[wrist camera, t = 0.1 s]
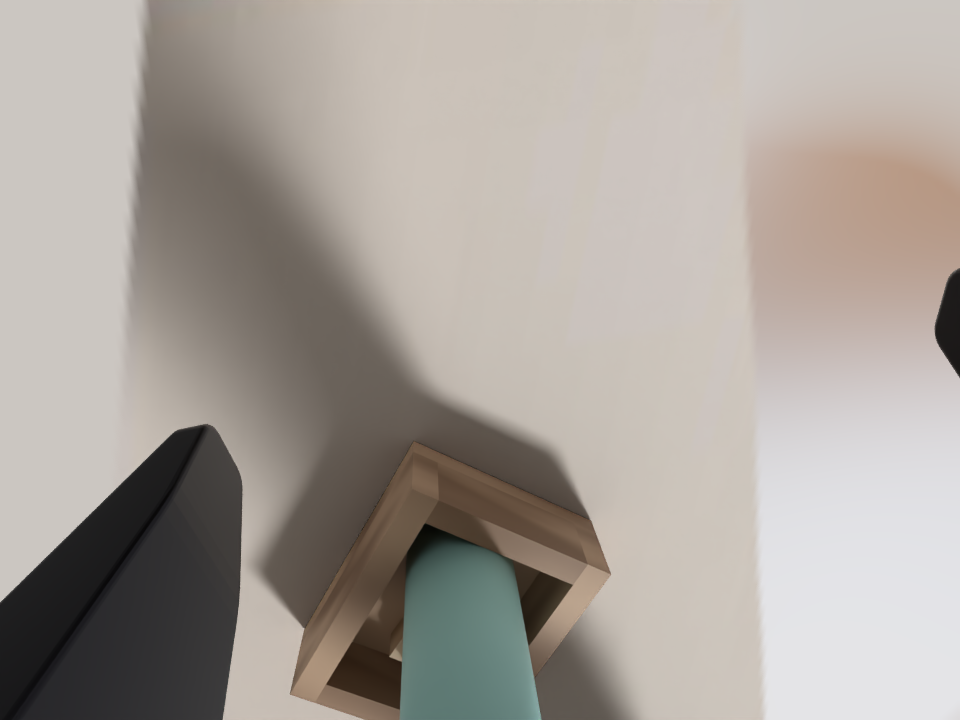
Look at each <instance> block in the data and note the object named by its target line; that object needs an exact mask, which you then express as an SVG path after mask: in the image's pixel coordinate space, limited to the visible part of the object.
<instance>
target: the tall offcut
mask: <svg viewBox="0 0 960 720" xmlns="http://www.w3.org/2000/svg"><path fill="white" fill-rule="evenodd" d="M400 720H541V714H540V709H539V703H538V698H537V692H536V686H535V681H534V675H533V670H532V664H531V659H530V653H529V648H528V642H527V637H526V631H525V625H524V620H523V614H522V609H521V603H520V598H519V592H518V587H517V581H516V575H515V570H514V564H513V560H512V559H510V558H508V557H505V556H503V555H500V554H498V553H496V552H493V551H491V550H488V549H486V548H484V547H481V546H479V545H476V544H474V543H472V542H469V541H467V540H465V539H462V538H460V537H457V536H455V535H453V534H450V533H448V532H445V531H443V530H441V529H438V528H436V527H433V526H431V525H429V524H426V523H425V524H424V525H423V527H422V529H421V530H420V532H419V533H418V535H417V537H416V538H415V540H414V542H413V543H412V545H411V547H410V548H409V550H408V551H407V557H406V581H405V605H404V628H403V652H402V676H401V700H400Z"/></svg>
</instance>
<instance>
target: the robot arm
mask: <svg viewBox="0 0 960 720" xmlns="http://www.w3.org/2000/svg"><path fill="white" fill-rule="evenodd" d="M935 336H936V339H937V343H938V345H939V347H940V348H941V350H942V351H943V353H944V355H945V356H946V358H947V359H948V361H949V362H950V364H951V365H952V367H953V368H954V370H955V371H956V373H957V374H958V376H959V377H960V268H959V269H957V270H955V271H954V272H953V273H952V274H951V275H950V276H949V278H948V281H947V283H946V287H945V290H944V294H943V298H942V301H941V305H940V308H939V312H938V315H937V319H936V323H935ZM241 528H242V480H241V476H240V473H239V470H238V468H237V466H236V464H235V463H234V461H233V459H232V457H231V455H230V453H229V452H228V450H227V448H226V446H225V444H224V442H223V440H222V439H221V437H220V435H219V433H218V432H217V430H216V429H215V428H214V427H213V426H211V425H208V424H203V425H198V426H194V427H189V428H184V429H180V430H177V431H175V432H174V433H173V434H172V435H170V436H169V437H168V438H167V439H166V440H165V441H164V442H163V443H162V444H161V445H160V446H159V447H158V448H157V449H156V450H155V451H154V452H153V453H152V454H151V455H150V456H149V457H148V458H147V459H146V460H145V461H144V462H143V463H142V464H141V465H140V466H139V467H138V468H137V469H136V470H135V471H134V472H133V473H132V474H131V475H130V476H129V477H128V478H127V479H126V480H125V481H124V482H123V483H122V484H121V485H120V486H119V487H117V488H116V489H115V490H114V491H113V492H112V493H111V494H110V495H109V496H108V497H107V498H106V499H105V500H104V501H103V502H102V503H101V504H100V505H99V506H98V507H97V508H96V509H95V510H94V511H93V512H92V513H91V514H90V515H89V516H88V517H87V518H86V519H85V520H84V521H83V522H82V523H81V524H80V525H79V526H78V527H77V528H76V529H75V530H74V531H73V532H72V533H71V534H70V535H69V536H68V537H67V538H66V539H64V540H63V541H62V543H60V544H59V545H58V546H57V547H56V548H55V549H54V550H53V551H52V552H51V553H50V554H49V555H48V556H47V557H46V558H45V559H44V560H43V561H42V562H41V563H40V564H39V565H38V566H37V567H36V568H35V569H34V570H33V571H32V572H31V573H30V574H29V575H28V576H27V577H26V578H25V579H24V580H23V581H22V582H21V583H20V584H19V585H18V586H17V587H15V588H14V590H13V591H11V592H10V593H9V594H8V595H7V596H6V598H4V599H3V600H2V601H1V602H0V720H222V719H223V713H224V706H225V699H226V692H227V685H228V678H229V671H230V664H231V658H232V651H233V644H234V637H235V630H236V623H237V615H238V607H239V594H240V568H241Z"/></svg>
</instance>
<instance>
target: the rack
mask: <svg viewBox="0 0 960 720" xmlns="http://www.w3.org/2000/svg"><path fill="white" fill-rule="evenodd" d="M425 523H426V524H429V525H431V526H433V527H436V528H438V529H441V530H443V531H445V532H448V533H450V534H453V535H455V536H457V537H460V538H462V539H465V540H467V541H469V542H472V543H474V544H476V545H479V546H481V547H484V548H486V549H488V550H491V551H493V552H496V553H498V554H500V555H503V556H505V557H508V558H510V559H512V560H513V564H514V570H515V575H516V581H517V587H518V592H519V598H520V603H521V609H522V614H523V620H524V625H525V631H526V637H527V642H528V648H529V653H530V659H531V664H532V670H533V675H534V678H535V677H536V675H537V674H538V673H539V671H540V670H541V669H542V667H543V666H544V665H545V663H546V662H547V661H548V659H549V658H550V656H551V655H552V654H553V652H554V651H555V650H556V648H557V647H558V646H559V644H560V643H561V642H562V640H563V639H564V638H565V636H566V635H567V634H568V632H569V631H570V629H571V628H572V627H573V625H574V624H575V623H576V621H577V620H578V619H579V617H580V616H581V615H582V613H583V612H584V611H585V609H586V608H587V606H588V605H589V604H590V602H591V601H592V600H593V598H594V597H595V596H596V594H597V593H598V592H599V590H600V589H601V588H602V586H603V585H604V583H605V582H606V581H607V579H608V578H609V577H610V575H611V573H610V570H609V567H608V565H607V562H606V559H605V557H604V554H603V551H602V549H601V546H600V543H599V541H598V538H597V535H596V533H595V530H594V527H593V525H592V522H591V520H588V519H586V518H584V517H582V516H579V515H577V514H575V513H573V512H571V511H568V510H566V509H564V508H562V507H559V506H557V505H555V504H553V503H550V502H548V501H546V500H544V499H542V498H539V497H537V496H535V495H533V494H530V493H528V492H526V491H524V490H521V489H519V488H517V487H515V486H513V485H510V484H508V483H506V482H504V481H501V480H499V479H497V478H495V477H492V476H490V475H488V474H486V473H484V472H481V471H479V470H477V469H475V468H472V467H470V466H468V465H466V464H464V463H461V462H459V461H457V460H455V459H452V458H450V457H448V456H446V455H443V454H441V453H439V452H437V451H435V450H432V449H430V448H428V447H426V446H423V445H421V444H419V443H417V442H413V443H412V445H411V447H410V449H409V450H408V452H407V454H406V455H405V457H404V459H403V461H402V462H401V464H400V466H399V468H398V469H397V471H396V473H395V474H394V476H393V478H392V480H391V481H390V483H389V485H388V486H387V488H386V490H385V492H384V493H383V495H382V497H381V499H380V500H379V502H378V504H377V505H376V507H375V509H374V511H373V512H372V514H371V516H370V517H369V519H368V521H367V523H366V524H365V526H364V528H363V530H362V531H361V533H360V535H359V536H358V538H357V540H356V542H355V543H354V545H353V547H352V548H351V550H350V552H349V554H348V555H347V557H346V559H345V560H344V562H343V564H342V566H341V567H340V569H339V571H338V573H337V574H336V576H335V578H334V579H333V581H332V583H331V585H330V586H329V588H328V590H327V591H326V593H325V595H324V597H323V598H322V600H321V602H320V604H319V605H318V607H317V609H316V610H315V612H314V614H313V616H312V617H311V619H310V621H309V622H308V624H307V626H306V628H305V629H304V633H303V638H302V642H301V647H300V651H299V656H298V660H297V665H296V669H295V673H294V678H293V682H292V687H291V691H290V695H293V696H296V697H299V698H302V699H305V700H308V701H311V702H314V703H317V704H320V705H323V706H326V707H329V708H332V709H335V710H338V711H341V712H344V713H347V714H350V715H353V716H356V717H359V718H362V719H365V720H400V700H401V676H402V662H401V661H399V660H396V659H393V658H391V657H389V655H390V639H391V633H392V632H393V631H394V629H395V628H396V626H397V625H398V623H399V622H400V620H401V619H402V618H403V616H404V605H405V581H406V557H407V551H408V550H409V548H410V547H411V545H412V543H413V542H414V540H415V538H416V537H417V535H418V533H419V532H420V530H421V529H422V527H423V525H424V524H425Z"/></svg>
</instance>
